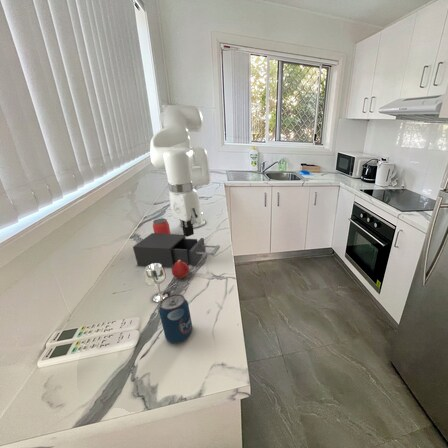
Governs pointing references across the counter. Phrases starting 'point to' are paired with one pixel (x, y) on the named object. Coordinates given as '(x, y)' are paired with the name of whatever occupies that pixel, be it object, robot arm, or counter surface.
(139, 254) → the dark grey cabinet
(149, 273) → the wineglass
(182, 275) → the onion
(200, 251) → the drawer
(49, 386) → the counter surface
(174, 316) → the soda can
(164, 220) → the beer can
